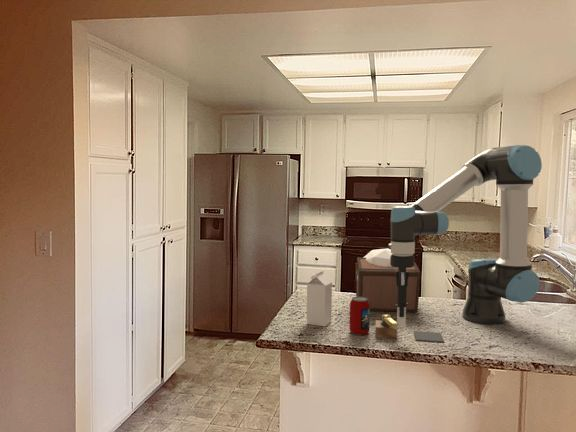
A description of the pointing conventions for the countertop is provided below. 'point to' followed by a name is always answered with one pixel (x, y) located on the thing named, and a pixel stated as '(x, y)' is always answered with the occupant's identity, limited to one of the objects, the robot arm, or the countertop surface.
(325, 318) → the milk carton
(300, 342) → the countertop surface
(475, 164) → the robot arm
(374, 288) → the tissue box
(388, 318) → the lever
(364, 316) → the beverage can
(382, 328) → the pedestal
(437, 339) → the mat
